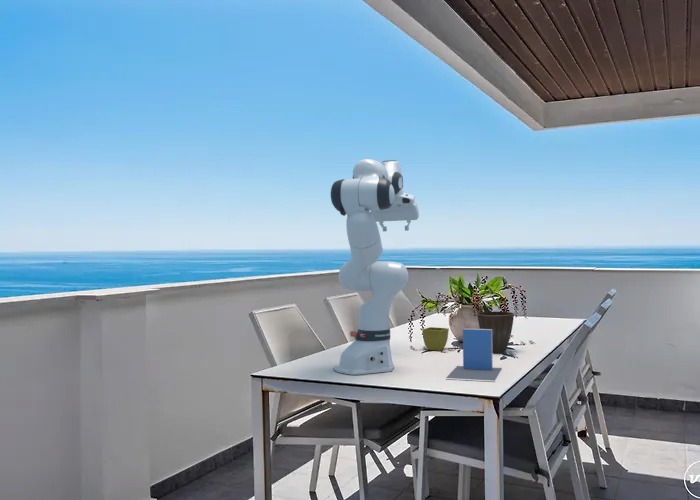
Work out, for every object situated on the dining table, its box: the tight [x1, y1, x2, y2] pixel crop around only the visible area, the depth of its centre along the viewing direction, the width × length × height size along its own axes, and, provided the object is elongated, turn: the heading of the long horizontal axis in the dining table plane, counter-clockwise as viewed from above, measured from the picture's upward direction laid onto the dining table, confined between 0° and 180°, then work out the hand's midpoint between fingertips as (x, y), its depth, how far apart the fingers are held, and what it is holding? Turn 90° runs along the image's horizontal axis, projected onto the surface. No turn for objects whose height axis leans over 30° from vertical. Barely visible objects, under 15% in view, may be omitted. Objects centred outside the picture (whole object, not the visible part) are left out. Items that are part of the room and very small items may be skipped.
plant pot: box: [476, 311, 515, 354], centre depth 269 cm, size 15×15×16 cm
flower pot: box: [422, 326, 449, 352], centre depth 276 cm, size 9×9×9 cm
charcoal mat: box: [445, 365, 503, 383], centre depth 223 cm, size 22×16×1 cm
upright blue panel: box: [462, 328, 494, 370], centre depth 230 cm, size 2×10×14 cm, turn 71°
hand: (395, 230), depth 273 cm, fingers open, 8 cm apart
